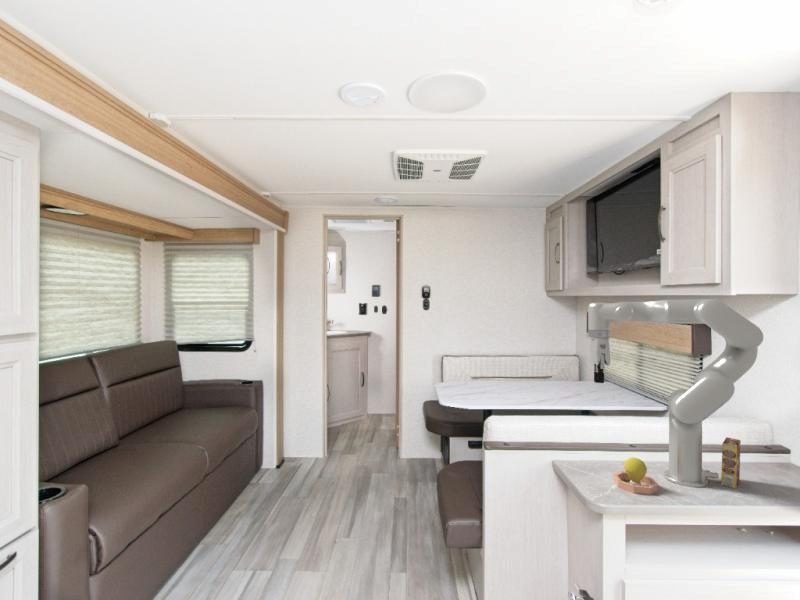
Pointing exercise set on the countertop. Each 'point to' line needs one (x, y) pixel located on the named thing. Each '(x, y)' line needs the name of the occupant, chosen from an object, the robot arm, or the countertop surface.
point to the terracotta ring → (634, 488)
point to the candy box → (730, 462)
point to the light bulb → (635, 470)
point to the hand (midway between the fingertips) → (598, 382)
